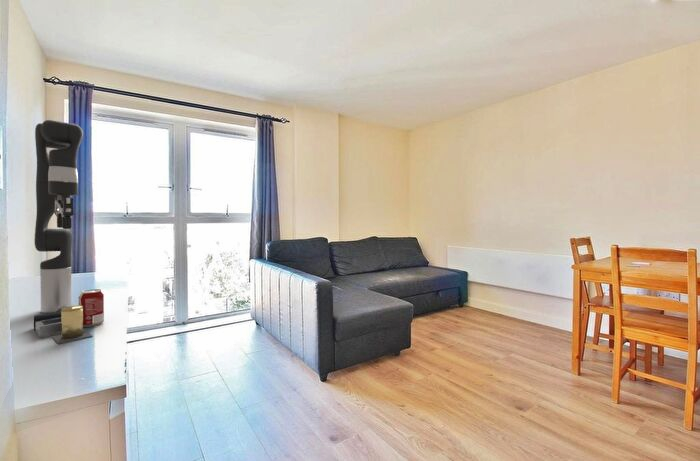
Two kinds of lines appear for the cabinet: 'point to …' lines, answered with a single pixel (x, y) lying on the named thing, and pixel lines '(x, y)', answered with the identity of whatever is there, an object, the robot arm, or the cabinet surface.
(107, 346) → the cabinet surface
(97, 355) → the cabinet surface
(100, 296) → the soda can
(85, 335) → the mat
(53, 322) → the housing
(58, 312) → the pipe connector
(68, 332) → the brass cylinder
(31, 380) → the cabinet surface
